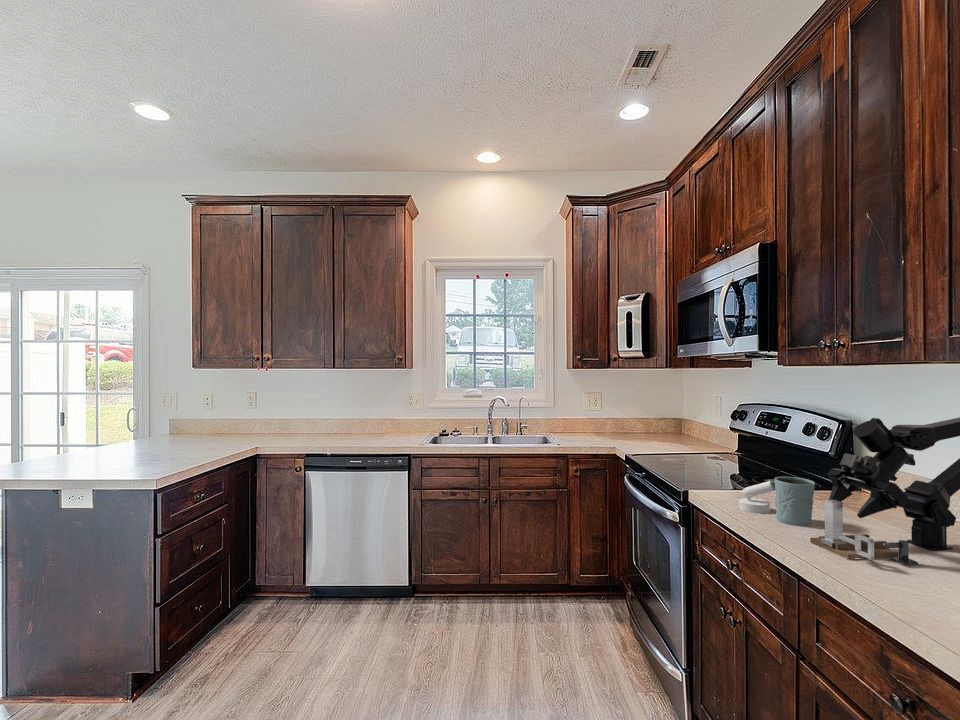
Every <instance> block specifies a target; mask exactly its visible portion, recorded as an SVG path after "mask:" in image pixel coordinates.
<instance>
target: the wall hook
mask: <svg viewBox="0 0 960 720" xmlns="http://www.w3.org/2000/svg"><path fill="white" fill-rule="evenodd" d="M775 491H776V490H775V484H773V482H772V481H771V480H768V481H766V482H765V481H764V482H761V483H758V484H754V485H753V484H752V485H750V486H746V487H744V488H743V489H742V492H741V493H742V495H743V496H744V497H742V498H739V499H738V509H739V510H741V511H743V512H747V513H752V514H768V513H770V511H771V507H770V506H771V504H770V502H769V501H768V500H765V499H760V498H755V496H759V495H763V494H767V493H771V492H775Z"/></svg>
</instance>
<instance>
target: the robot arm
mask: <svg viewBox="0 0 960 720" xmlns="http://www.w3.org/2000/svg"><path fill="white" fill-rule="evenodd" d="M852 433H853V435H854V437H856V438H857V440H858V441H859V442H860V443H861V444H862V445H863V446H864V447H865V449H867V450H868V452H870V453H875V454H874V455H873V456H871V455H864V456H863V457H862V456H858V455H855V454H850V453H844V454H843V456H842V458H841V461H840V463H839V466H841V467H845V468H847V469H848V470H851V471H850V473H851V474H852V475H853V476H855V478H854V477H853V476H851V474H850V473H849V472H848V470H843V469H840V468H830V470H829V471H828V472H827V474H826V475H827V476H828V479H829V480H830V482H831V483H832V487H831V492H830V495H829V499H828V500H837V501H840V502H843V501H844V500H846V499H847V498H849V497H851V496H852V495H853V493H852V492H855V491H856V490H857V489H862V490H865V491H869V492H870V495H869V498H867V499H866V500H865V503H864V504H863V505H862V506H861V508H860V509H859V510H858V511H857V514H856V516H857V517H858V518H859V519H863V518H865V517H869V516H871V515H874V514H877V513H881V512H883V511H887V510H891V509H897V508H903V512H904V514H905V517H907V518H911V519H912V525H911V539H907V540H906V541H908V542H909V544H912V545H915V546H917V547H920V548H923V549H925V550H929V551H942V550H943V551H945V550H953V549H954V547H953V546H951V545H948V544H947V543H948V542H947V536H948V535H947V533H948V531H947V528H950V527H953V526H955V523H956V519H957V517H956V516H955V514H953V513H952V511H951V510H950V509H949V508H950V507H951V506H950V504H951V497H952V496H953V495H954V494H956V493H957V492H958V491H960V458H958V459H957V460H956V461H954V462H953V463H952V464H950V465H949V466H948V467H947V468H945V470H943V471H942V472H940V473H939V474H938V475H937V476H936V477H935V478H933V479H932V480H931V481H929V482H926V481H923V480H922V481H921V480H915V481H913V482H912V483H911V484H910V485H909V486H907V487H905V488H903V490H904V491H903V490H902V489H901V488H900V486H899V485H897V483H895V482H896V481H897V480H898V477H897V476H896V475H897V473H898V472H899V470H900V469H902V467H903V466H904V465H908V466H913V467H915V466H916V460H915V455H914V454H913V453H909V452H908V451H907V450H912V451H920V452H922V451H925V450H927V449H930V448H932V447H934V446H935V444H936V443H937V442H940V441H945V440H948V439H953V438H957V437H960V417H955V418H951V419H946V420H942V421H936V422H932V423H927V424H896V425H893V426H892V427H891V429H889V428H887V427H886V425H885V424H884V422H883V421H882V419H881V418H876V417H871V419H870V420H868V421H864V422H862V423H860V424H859V425H856V426H855V427H854V429H853V431H852ZM906 449H907V450H906ZM891 481H892V482H891Z"/></svg>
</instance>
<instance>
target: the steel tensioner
mask: <svg viewBox="0 0 960 720" xmlns="http://www.w3.org/2000/svg"><path fill="white" fill-rule="evenodd" d="M843 508H844V507H843V501H841V502H840V501H837V500H829V499H824V536H825V538H821V542H822V543H824V544H826V545H828V546H831V547H835V543H845V541H846V542H849V543H851V544H853V545H855V553H856V554H859V555H861V556H863V557H865V558H868V559H867V560H871V561H873V560H875V558H874V541H875V540H874V539H872V538H870V537H869V538H868V537H865V536H862V535H860V534H861V533H860V534H859V533H854V535H855V540H853V539H851V538H848V537H846V536H843V535H844V530H843V529H844V525H843V524H844V522H843V518H844V514H843V513H844V510H843ZM843 540H844V541H843ZM861 540H863V541H865V542H868V553H866V552H863V551H861Z"/></svg>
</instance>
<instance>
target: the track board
mask: <svg viewBox="0 0 960 720" xmlns="http://www.w3.org/2000/svg"><path fill="white" fill-rule="evenodd" d="M860 535H862V536H865V537H868V538H870V535H869V534H868V533H860ZM843 536H846V537H848V538H851V539H853V540H855V534H843ZM821 538H825V535H819V536H818V537H810V540H809V541H810V542H812V543H811V544H813V543H814V544H813V545H815V544H816V545H815V546H817V545H818V546H817V547H819V546H820V548H821V547H823V548H822V549H824V548H825V549H824V550H826V549H827V550H826V551H828V550H829V551H828V552H830V551H831V553H832V552H833V554H834V553H836V554H835V555H837V554H838V555H837V556H839V555H840V556H839V557H841V556H842V557H841V558H843V557H844V559H845V558H847V559H846V560H848V559H851V560H856V559H855V558H865V557H863V556H861V555H859V554H856V553H855V545H853V544H851V543H849V542H846V541H845V543H835V547H831V546H828V545H826V544H824V543H822V542H821ZM843 541H844V540H843ZM883 543H888V541H886V540H874V559H888V558H889V557H899V551H897V550H894V549H893V548H884V547H883V546H882V544H883ZM861 551H863V552H866V553H868V542H865V541H863V540H861ZM889 559H890V558H889Z"/></svg>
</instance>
